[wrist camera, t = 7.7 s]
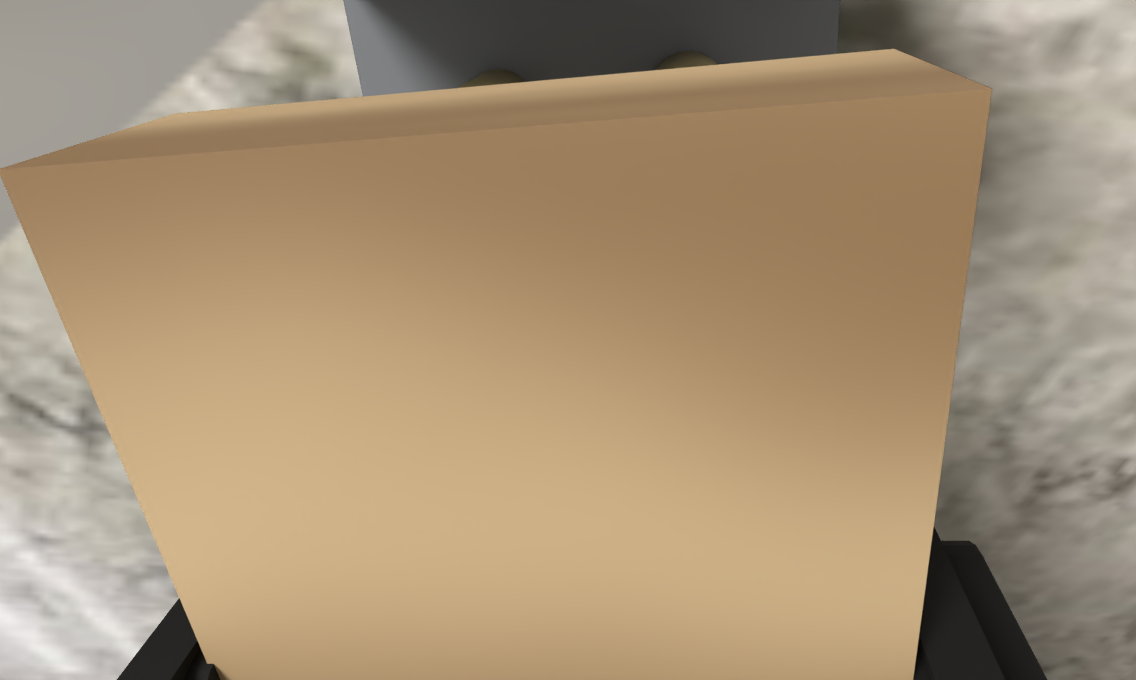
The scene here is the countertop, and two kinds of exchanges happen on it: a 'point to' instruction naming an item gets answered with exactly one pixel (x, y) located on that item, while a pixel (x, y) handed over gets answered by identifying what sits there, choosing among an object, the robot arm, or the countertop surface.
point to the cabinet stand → (572, 38)
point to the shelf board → (535, 366)
